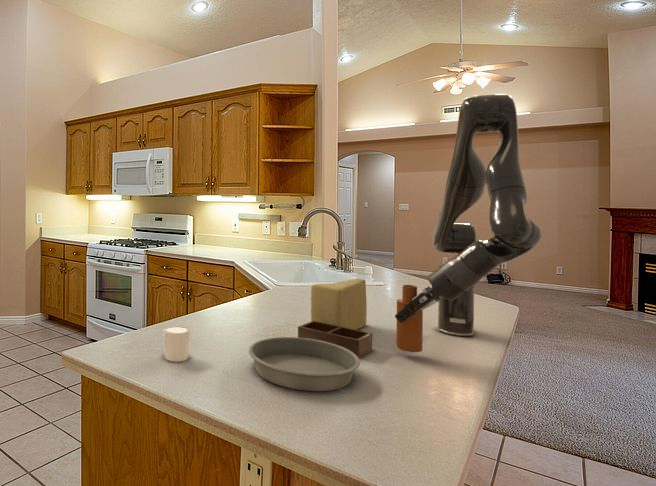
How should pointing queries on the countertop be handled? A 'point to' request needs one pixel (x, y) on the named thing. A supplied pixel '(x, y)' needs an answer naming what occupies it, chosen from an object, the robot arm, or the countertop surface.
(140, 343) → the countertop surface
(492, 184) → the robot arm
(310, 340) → the cake pan
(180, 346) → the cream cylinder
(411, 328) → the bottle
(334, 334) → the holder
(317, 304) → the cheese
